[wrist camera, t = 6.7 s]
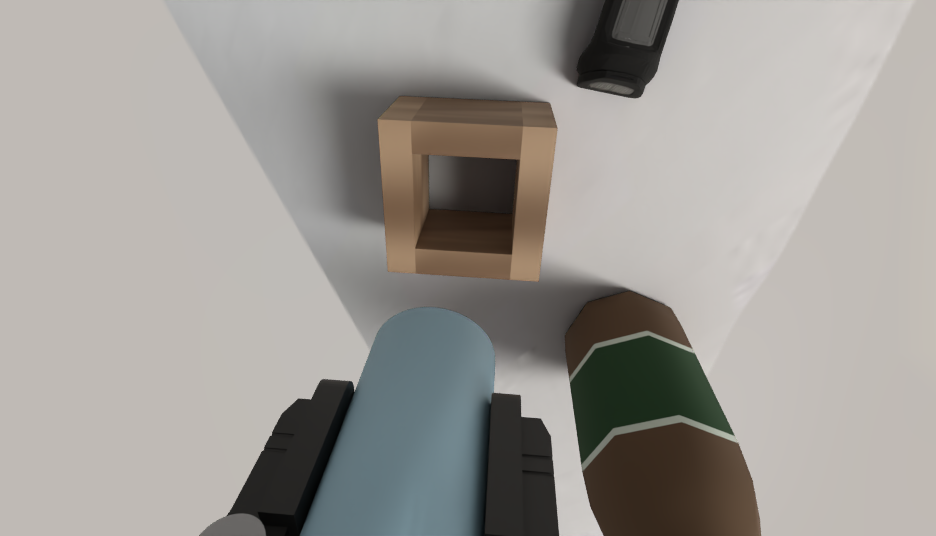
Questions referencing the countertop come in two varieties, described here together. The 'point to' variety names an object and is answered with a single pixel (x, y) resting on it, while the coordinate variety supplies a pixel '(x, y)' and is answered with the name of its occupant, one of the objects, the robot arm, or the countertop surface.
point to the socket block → (464, 232)
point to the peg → (413, 434)
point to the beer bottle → (653, 427)
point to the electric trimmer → (626, 46)
